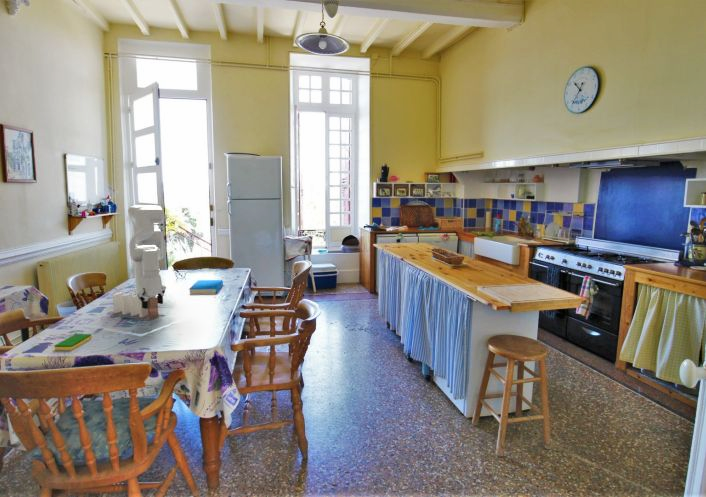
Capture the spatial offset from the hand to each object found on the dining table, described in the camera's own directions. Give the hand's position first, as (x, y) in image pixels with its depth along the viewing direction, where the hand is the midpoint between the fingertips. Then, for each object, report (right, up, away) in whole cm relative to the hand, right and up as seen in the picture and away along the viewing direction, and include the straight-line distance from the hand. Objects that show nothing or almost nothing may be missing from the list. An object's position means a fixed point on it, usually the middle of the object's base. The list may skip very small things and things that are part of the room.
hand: (152, 305), depth 212 cm
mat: (-11, -6, +5) cm, 14 cm away
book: (+5, +1, +65) cm, 65 cm away
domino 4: (-6, -6, +3) cm, 9 cm away
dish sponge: (-18, -12, -34) cm, 40 cm away
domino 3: (-11, -5, +5) cm, 13 cm away
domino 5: (0, -6, +1) cm, 6 cm away
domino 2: (-17, -5, +7) cm, 19 cm away
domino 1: (-23, -4, +9) cm, 25 cm away
